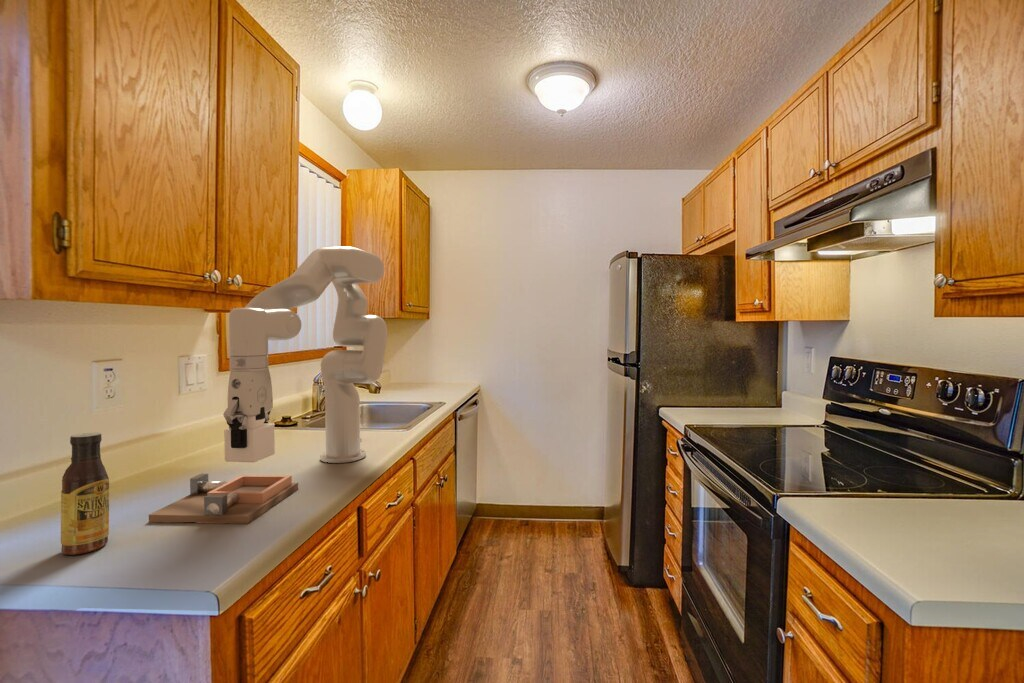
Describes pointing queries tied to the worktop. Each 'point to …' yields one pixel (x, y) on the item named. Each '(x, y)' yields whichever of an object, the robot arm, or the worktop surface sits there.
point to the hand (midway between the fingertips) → (250, 442)
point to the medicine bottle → (252, 440)
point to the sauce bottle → (84, 497)
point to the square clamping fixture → (227, 499)
